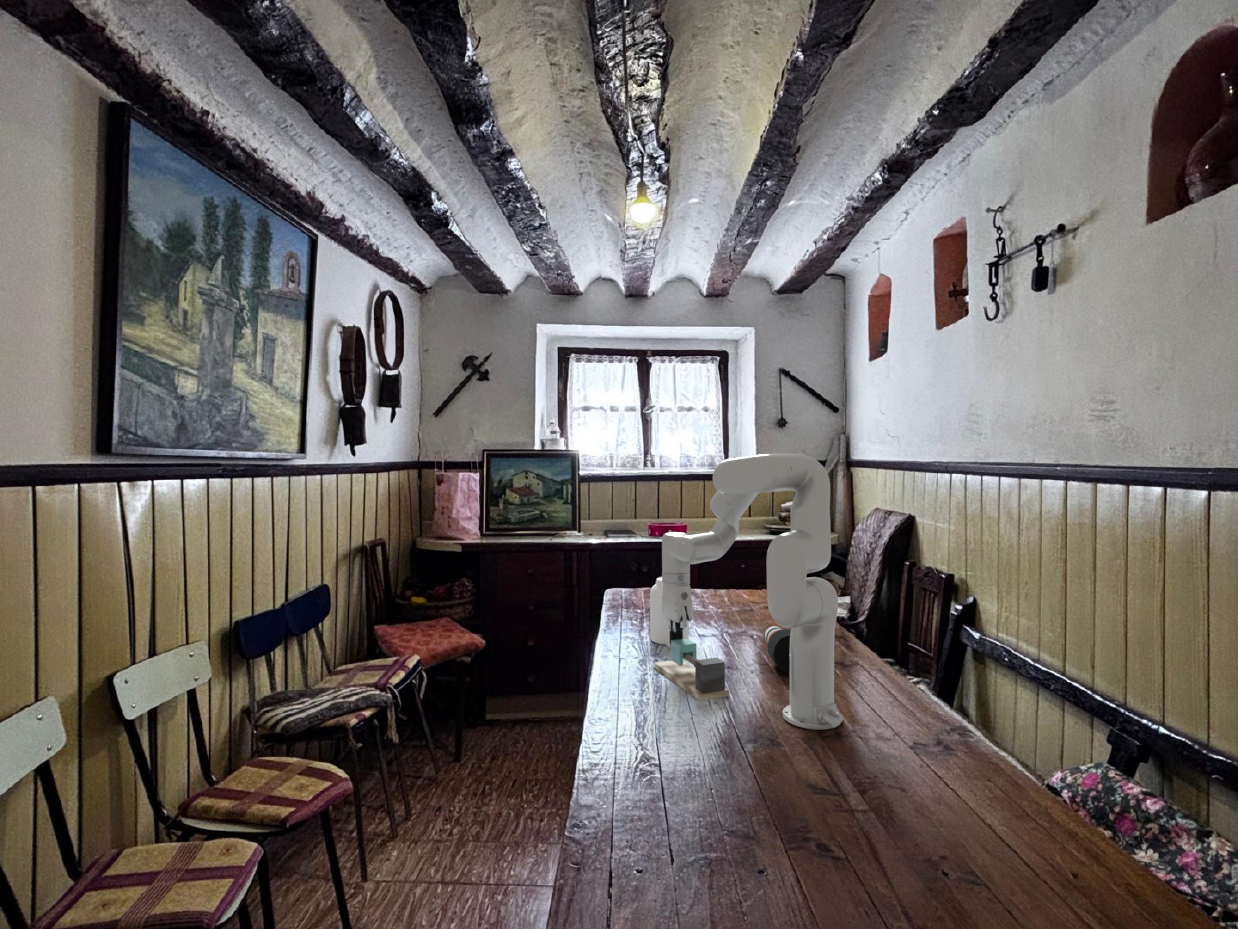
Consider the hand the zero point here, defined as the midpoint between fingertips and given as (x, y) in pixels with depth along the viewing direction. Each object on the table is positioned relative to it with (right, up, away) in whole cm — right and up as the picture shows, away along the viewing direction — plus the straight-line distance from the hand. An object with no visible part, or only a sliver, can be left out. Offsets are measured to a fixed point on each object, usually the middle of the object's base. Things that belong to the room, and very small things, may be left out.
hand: (676, 645), depth 177 cm
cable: (+32, -8, +13) cm, 35 cm away
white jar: (+1, -7, +31) cm, 32 cm away
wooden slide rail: (+3, -8, -7) cm, 11 cm away
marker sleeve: (+2, -3, -4) cm, 6 cm away
